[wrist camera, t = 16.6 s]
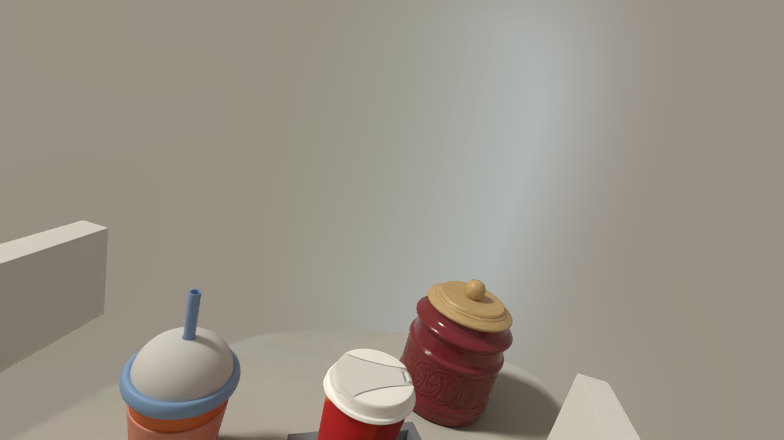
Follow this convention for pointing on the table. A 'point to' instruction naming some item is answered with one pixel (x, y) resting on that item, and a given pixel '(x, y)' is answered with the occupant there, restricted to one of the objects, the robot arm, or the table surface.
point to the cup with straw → (180, 382)
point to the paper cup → (366, 397)
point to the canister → (456, 351)
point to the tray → (407, 436)
